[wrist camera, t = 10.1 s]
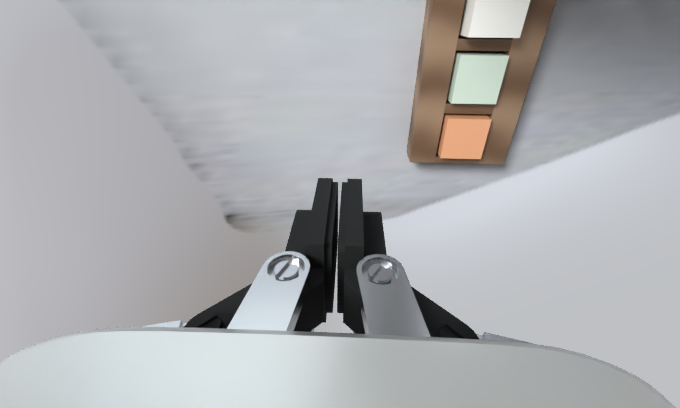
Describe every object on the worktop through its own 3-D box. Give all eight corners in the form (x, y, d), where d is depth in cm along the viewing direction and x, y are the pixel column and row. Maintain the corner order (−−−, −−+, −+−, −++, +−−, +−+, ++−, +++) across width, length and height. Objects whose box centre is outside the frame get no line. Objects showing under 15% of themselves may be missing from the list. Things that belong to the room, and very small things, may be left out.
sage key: (452, 51, 33) (460, 55, 30) (497, 51, 32) (509, 55, 30) (444, 96, 35) (451, 103, 32) (485, 97, 35) (495, 104, 32)
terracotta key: (441, 110, 36) (448, 118, 33) (482, 111, 36) (491, 119, 33) (434, 148, 38) (440, 158, 36) (472, 148, 38) (480, 159, 36)
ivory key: (469, -24, 28) (481, -26, 26) (521, -23, 28) (537, -26, 26) (458, 34, 31) (468, 37, 28) (506, 35, 31) (519, 37, 28)
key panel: (431, -35, 29) (438, -39, 27) (549, -35, 29) (568, -38, 27) (406, 152, 40) (410, 162, 37) (493, 154, 39) (503, 164, 37)
